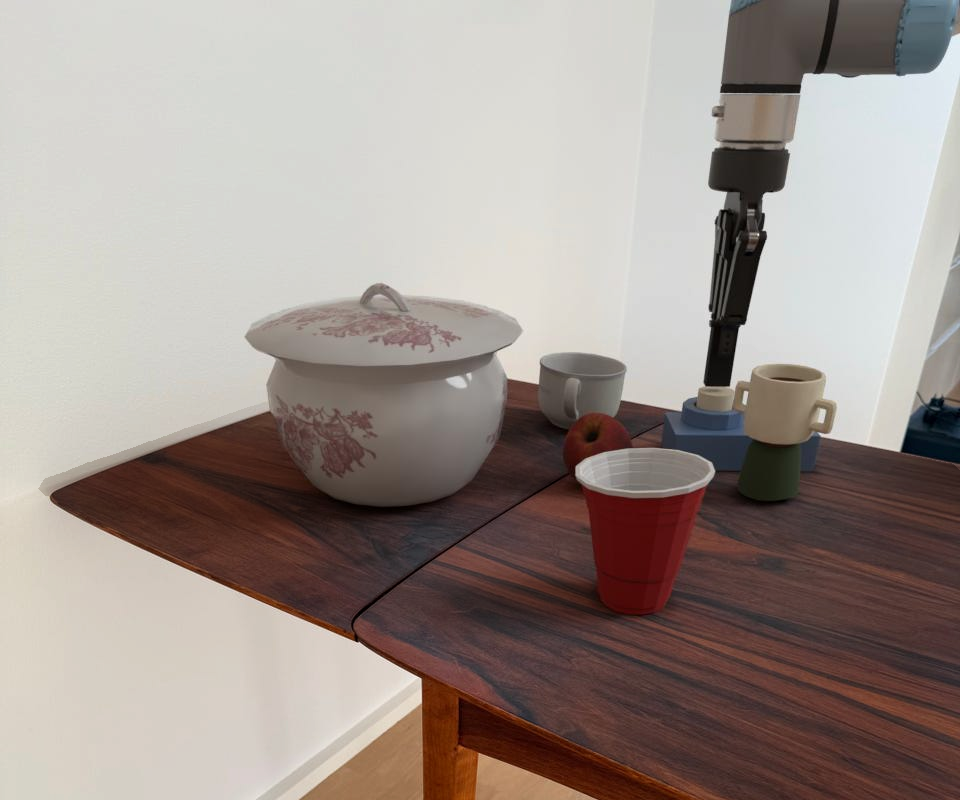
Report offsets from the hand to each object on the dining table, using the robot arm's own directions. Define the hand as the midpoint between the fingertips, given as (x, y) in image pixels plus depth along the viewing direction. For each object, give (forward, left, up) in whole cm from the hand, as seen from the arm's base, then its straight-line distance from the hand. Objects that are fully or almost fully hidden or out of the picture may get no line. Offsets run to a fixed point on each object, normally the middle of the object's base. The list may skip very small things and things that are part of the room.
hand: (716, 384), depth 99 cm
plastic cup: (+13, +35, -9) cm, 38 cm away
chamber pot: (+36, +10, -9) cm, 38 cm away
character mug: (-4, +12, -9) cm, 15 cm away
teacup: (+15, -9, -9) cm, 20 cm away
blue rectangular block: (-3, +1, -8) cm, 9 cm away
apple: (+14, +10, -9) cm, 19 cm away
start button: (0, 0, -3) cm, 3 cm away
